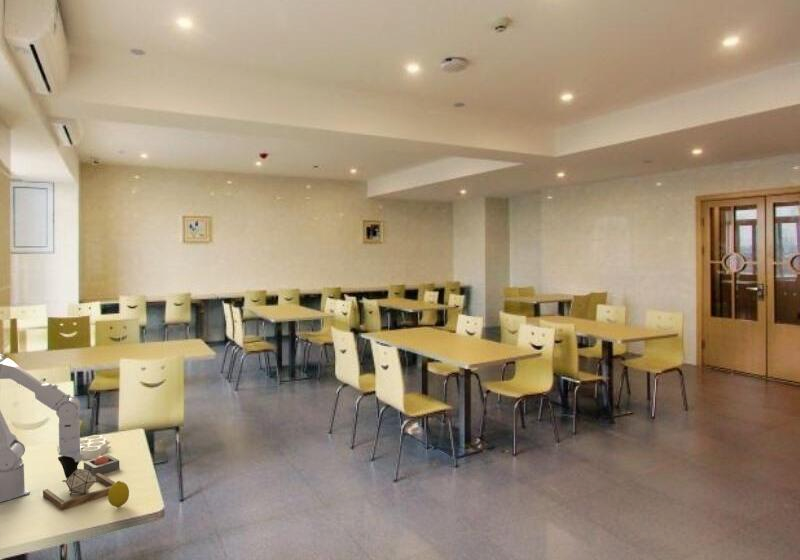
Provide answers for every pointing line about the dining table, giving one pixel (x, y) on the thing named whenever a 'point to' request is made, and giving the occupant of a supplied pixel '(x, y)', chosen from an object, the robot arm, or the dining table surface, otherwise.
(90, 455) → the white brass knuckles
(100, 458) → the salmon ball
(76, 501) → the brown wooden u shape
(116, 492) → the lemon
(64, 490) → the dining table surface
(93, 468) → the dome housing
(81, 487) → the game die
